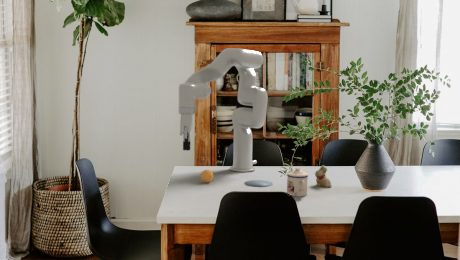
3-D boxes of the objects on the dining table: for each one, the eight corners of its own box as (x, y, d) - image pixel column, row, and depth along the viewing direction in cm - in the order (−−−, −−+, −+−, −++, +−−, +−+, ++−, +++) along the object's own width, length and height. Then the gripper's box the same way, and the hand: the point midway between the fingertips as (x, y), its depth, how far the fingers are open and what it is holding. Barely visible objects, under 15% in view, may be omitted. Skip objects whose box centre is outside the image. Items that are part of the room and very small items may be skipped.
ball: (206, 180, 324) (206, 167, 324) (216, 182, 321) (216, 169, 320) (197, 182, 320) (197, 169, 319) (207, 184, 316) (207, 171, 315)
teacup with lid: (283, 192, 303) (283, 166, 301) (302, 191, 305) (303, 165, 304) (294, 199, 291) (294, 171, 290) (313, 197, 294) (314, 170, 292)
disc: (255, 179, 329) (255, 178, 329) (278, 183, 321) (278, 182, 321) (238, 183, 318) (239, 183, 318) (262, 188, 311) (262, 187, 310)
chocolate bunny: (324, 183, 322) (324, 162, 320) (332, 187, 314) (333, 165, 313) (313, 184, 320) (314, 163, 318) (322, 188, 312) (323, 166, 311)
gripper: (180, 108, 323) (180, 147, 326) (177, 112, 308) (176, 152, 311) (196, 108, 323) (196, 147, 326) (193, 112, 308) (193, 153, 311)
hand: (186, 149), depth 318 cm, fingers closed
